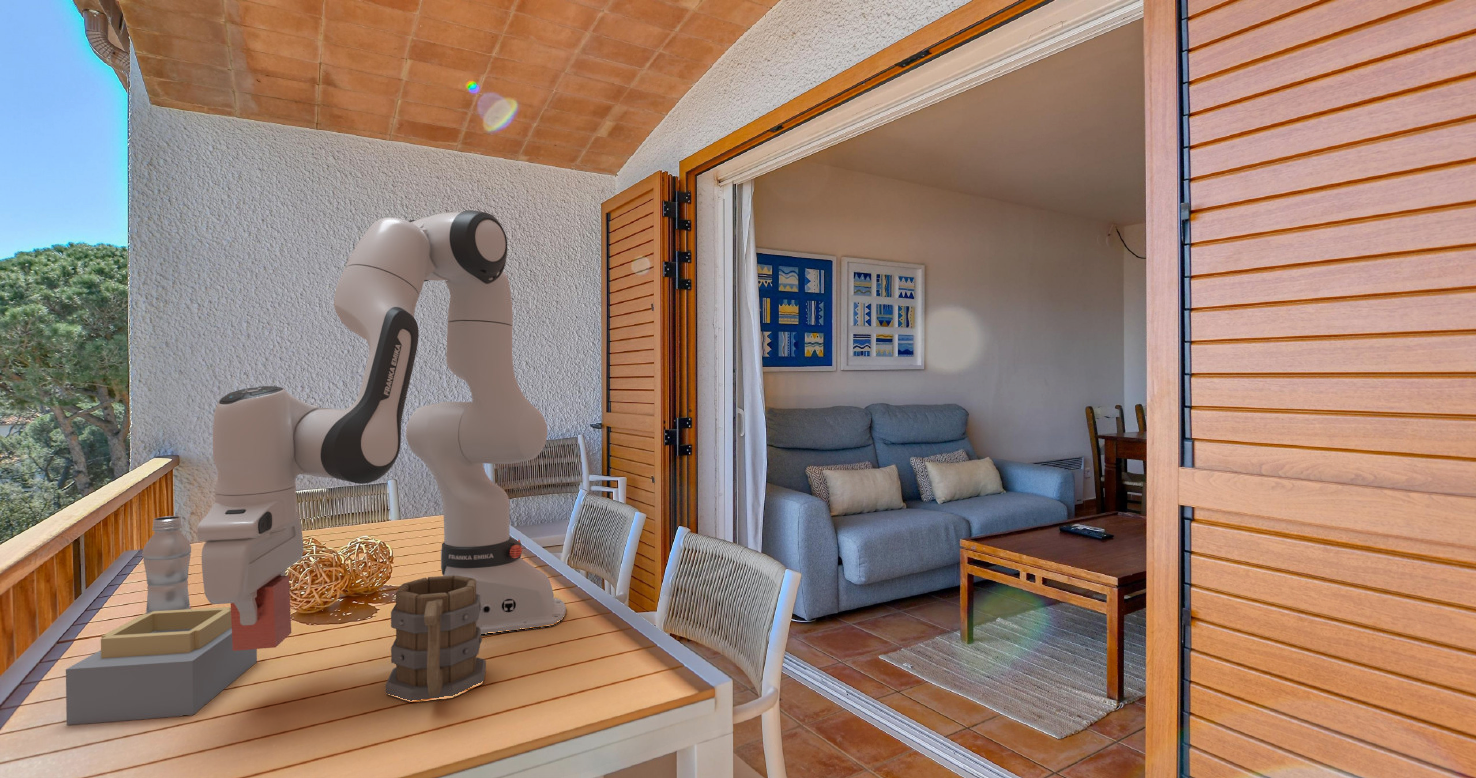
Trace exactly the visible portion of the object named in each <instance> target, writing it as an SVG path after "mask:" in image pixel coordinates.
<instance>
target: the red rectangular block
mask: <svg viewBox="0 0 1476 778" xmlns="http://www.w3.org/2000/svg"><path fill="white" fill-rule="evenodd" d="M290 593H291V591H290V575H289V574H288V575H287V574H285V576H276V577H275V578H273V579H272V580H270V581H269V582H268V583H266V584H265V585H263V586H262V587H261V588H259V589H258V590H257V597H256V598H255V601H256V605H257V607H260V615H261V618H260V620H259V621H257V622H256V623H255V624H253V625H241V623H240V612H239V611H238V609H237V607H236V605H235V604H234V603H230V607H231V623H232V645H233V651H238V650H250V649H257V650H262V649H274V648H275V649H276V648H277V647H278V646H279V645H280V644H281V643H282V642H283V641H284V640H285V639H287V637H289V636H290V635H291V634H292V617H291V616H292V615H291V613H292V612H291V594H290Z"/></svg>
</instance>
